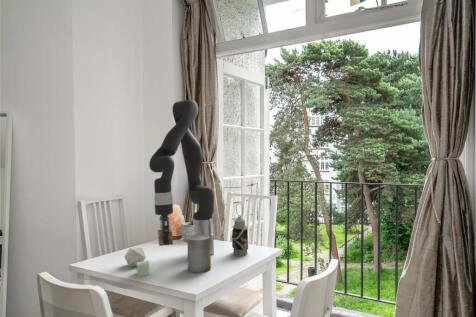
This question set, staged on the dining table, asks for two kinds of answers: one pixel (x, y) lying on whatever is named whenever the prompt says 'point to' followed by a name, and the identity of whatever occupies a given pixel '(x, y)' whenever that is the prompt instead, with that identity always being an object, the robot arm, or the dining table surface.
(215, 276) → the dining table surface
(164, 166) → the robot arm
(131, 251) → the die
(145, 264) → the green block
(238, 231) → the lantern
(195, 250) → the grey upright cylinder
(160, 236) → the walnut block
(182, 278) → the dining table surface
